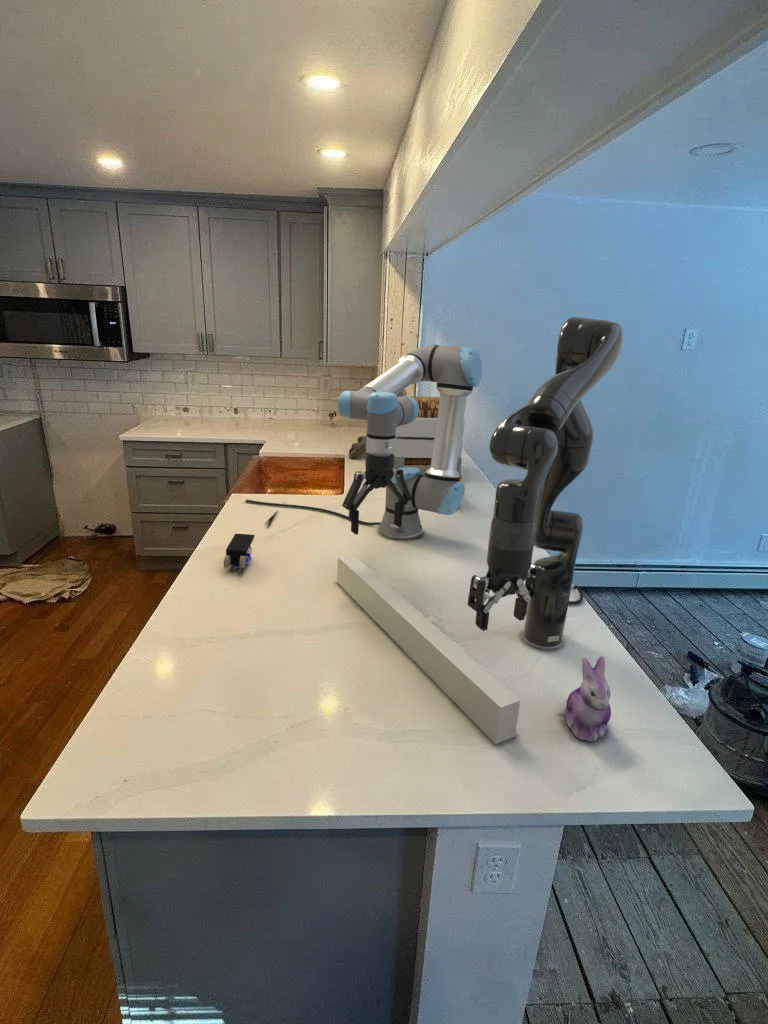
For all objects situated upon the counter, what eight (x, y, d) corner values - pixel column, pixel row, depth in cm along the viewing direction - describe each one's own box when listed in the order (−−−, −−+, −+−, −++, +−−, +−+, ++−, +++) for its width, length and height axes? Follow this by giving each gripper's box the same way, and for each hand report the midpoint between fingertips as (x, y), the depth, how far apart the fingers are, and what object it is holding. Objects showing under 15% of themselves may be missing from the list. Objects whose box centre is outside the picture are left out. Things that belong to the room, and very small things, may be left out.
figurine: (589, 751, 104) (604, 682, 99) (550, 716, 112) (561, 651, 107) (625, 735, 108) (641, 669, 103) (585, 703, 116) (597, 640, 111)
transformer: (382, 463, 289) (386, 382, 275) (445, 464, 293) (451, 384, 279) (390, 482, 257) (394, 392, 243) (460, 483, 261) (468, 394, 247)
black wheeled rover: (246, 579, 165) (256, 553, 178) (245, 557, 161) (255, 532, 175) (223, 578, 165) (235, 552, 178) (221, 556, 161) (233, 531, 175)
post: (337, 582, 163) (337, 556, 160) (352, 579, 165) (352, 554, 162) (495, 744, 105) (500, 707, 102) (515, 736, 107) (520, 700, 104)
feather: (284, 505, 226) (287, 501, 226) (267, 528, 200) (269, 524, 199) (281, 503, 226) (283, 499, 225) (262, 526, 199) (265, 521, 199)
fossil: (348, 441, 313) (370, 426, 308) (359, 455, 316) (380, 440, 311) (342, 455, 293) (365, 439, 288) (353, 469, 296) (376, 454, 291)
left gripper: (344, 460, 138) (341, 540, 145) (427, 452, 151) (421, 527, 158) (330, 453, 144) (329, 531, 151) (412, 446, 157) (407, 518, 164)
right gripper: (492, 555, 91) (482, 643, 96) (557, 542, 97) (544, 624, 103) (464, 539, 97) (456, 622, 102) (527, 527, 103) (517, 606, 109)
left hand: (376, 529), depth 155 cm, fingers open, 13 cm apart
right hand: (500, 623), depth 102 cm, fingers open, 8 cm apart
